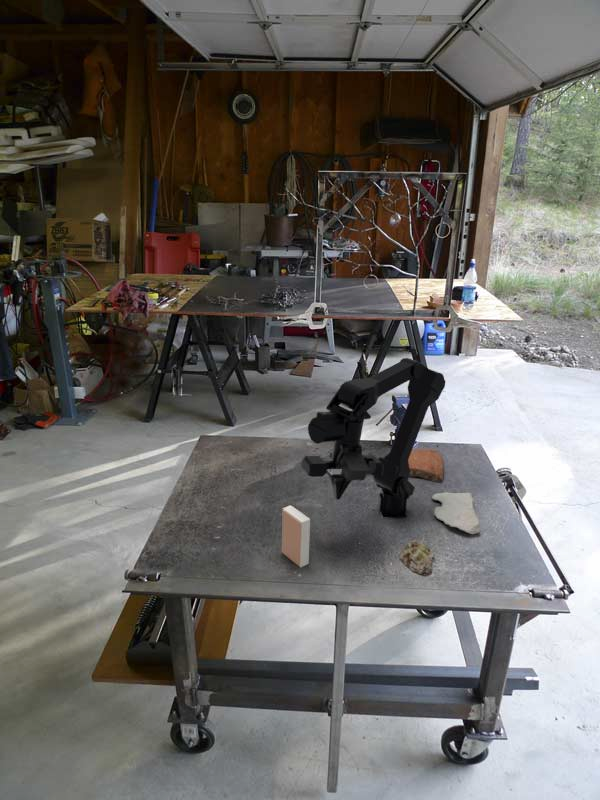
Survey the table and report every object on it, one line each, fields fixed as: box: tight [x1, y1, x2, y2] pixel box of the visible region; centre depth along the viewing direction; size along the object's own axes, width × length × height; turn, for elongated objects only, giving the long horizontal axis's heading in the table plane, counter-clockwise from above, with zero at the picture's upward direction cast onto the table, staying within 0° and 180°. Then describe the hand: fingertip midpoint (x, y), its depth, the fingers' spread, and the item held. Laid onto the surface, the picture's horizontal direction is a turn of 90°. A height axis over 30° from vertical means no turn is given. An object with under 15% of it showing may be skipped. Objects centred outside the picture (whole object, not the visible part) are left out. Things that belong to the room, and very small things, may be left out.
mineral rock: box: [399, 539, 436, 576], centre depth 138 cm, size 11×4×8 cm
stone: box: [431, 491, 481, 535], centre depth 156 cm, size 13×4×20 cm
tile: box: [281, 504, 311, 568], centre depth 136 cm, size 2×7×12 cm, turn 39°
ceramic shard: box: [408, 448, 444, 483], centre depth 179 cm, size 15×6×15 cm
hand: (337, 498), depth 141 cm, fingers closed
